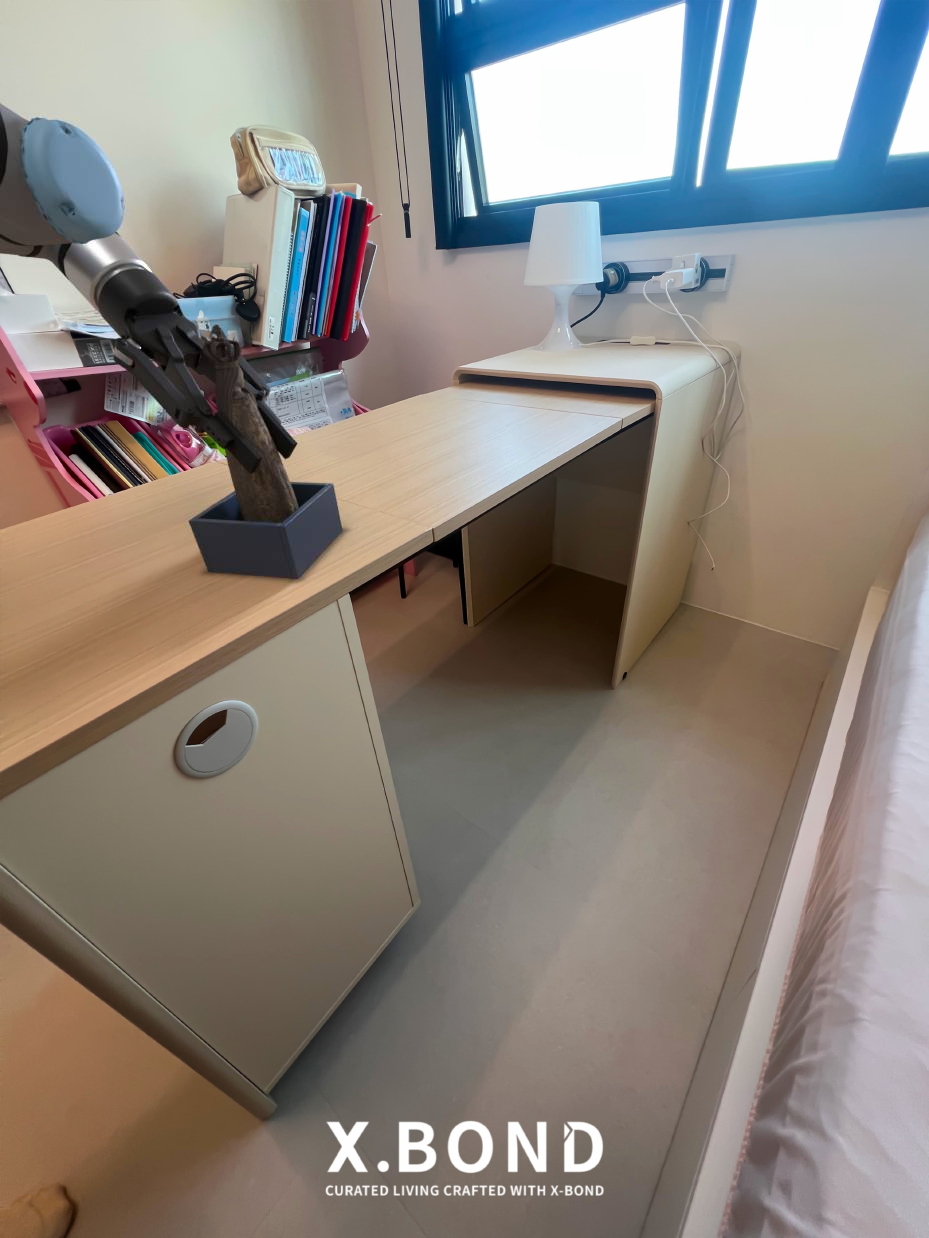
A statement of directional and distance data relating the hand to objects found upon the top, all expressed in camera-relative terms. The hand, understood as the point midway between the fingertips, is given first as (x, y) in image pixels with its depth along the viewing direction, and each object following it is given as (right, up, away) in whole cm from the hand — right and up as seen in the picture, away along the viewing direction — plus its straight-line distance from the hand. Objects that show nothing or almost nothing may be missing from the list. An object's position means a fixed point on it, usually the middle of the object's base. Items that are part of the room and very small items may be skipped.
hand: (274, 458), depth 59 cm
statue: (-2, -8, +9) cm, 12 cm away
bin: (-3, -10, +9) cm, 13 cm away
